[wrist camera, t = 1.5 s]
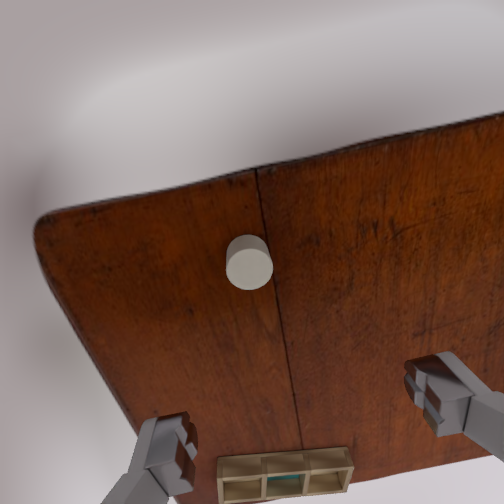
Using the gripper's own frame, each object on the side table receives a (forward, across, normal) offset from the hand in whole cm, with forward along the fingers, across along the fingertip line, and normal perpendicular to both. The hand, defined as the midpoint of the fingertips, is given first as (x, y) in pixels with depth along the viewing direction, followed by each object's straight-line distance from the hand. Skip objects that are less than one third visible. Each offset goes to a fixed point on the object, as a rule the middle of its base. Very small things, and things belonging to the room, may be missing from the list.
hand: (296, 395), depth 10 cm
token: (+14, +1, 0) cm, 14 cm away
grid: (+14, +4, +34) cm, 37 cm away
